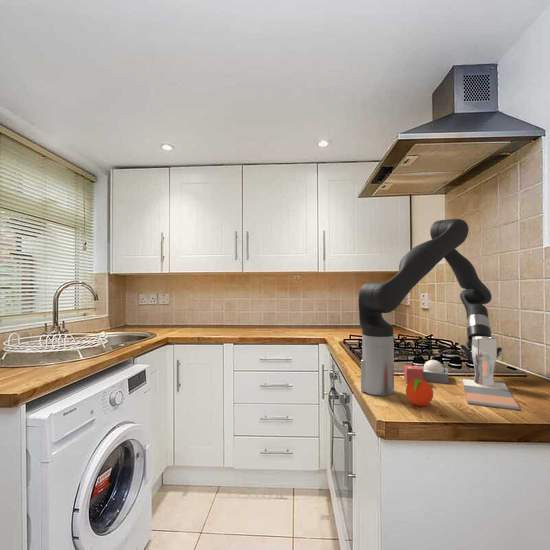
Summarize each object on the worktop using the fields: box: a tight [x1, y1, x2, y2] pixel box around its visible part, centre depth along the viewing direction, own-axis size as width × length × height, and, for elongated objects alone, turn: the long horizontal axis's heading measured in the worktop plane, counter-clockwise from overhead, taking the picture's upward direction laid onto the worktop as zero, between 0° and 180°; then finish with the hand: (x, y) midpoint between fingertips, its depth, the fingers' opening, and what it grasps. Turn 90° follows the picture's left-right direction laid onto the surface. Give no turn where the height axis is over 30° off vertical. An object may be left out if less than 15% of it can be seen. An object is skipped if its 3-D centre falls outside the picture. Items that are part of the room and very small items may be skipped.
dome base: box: [419, 365, 449, 384], centre depth 122 cm, size 9×9×3 cm
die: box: [403, 364, 423, 385], centre depth 117 cm, size 5×5×5 cm
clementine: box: [405, 379, 434, 407], centre depth 95 cm, size 8×7×7 cm
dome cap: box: [423, 359, 444, 373], centre depth 122 cm, size 6×6×6 cm
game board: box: [462, 377, 521, 411], centre depth 106 cm, size 12×28×1 cm, turn 155°
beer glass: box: [471, 336, 498, 387], centre depth 114 cm, size 7×7×15 cm
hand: (482, 371), depth 116 cm, fingers closed
